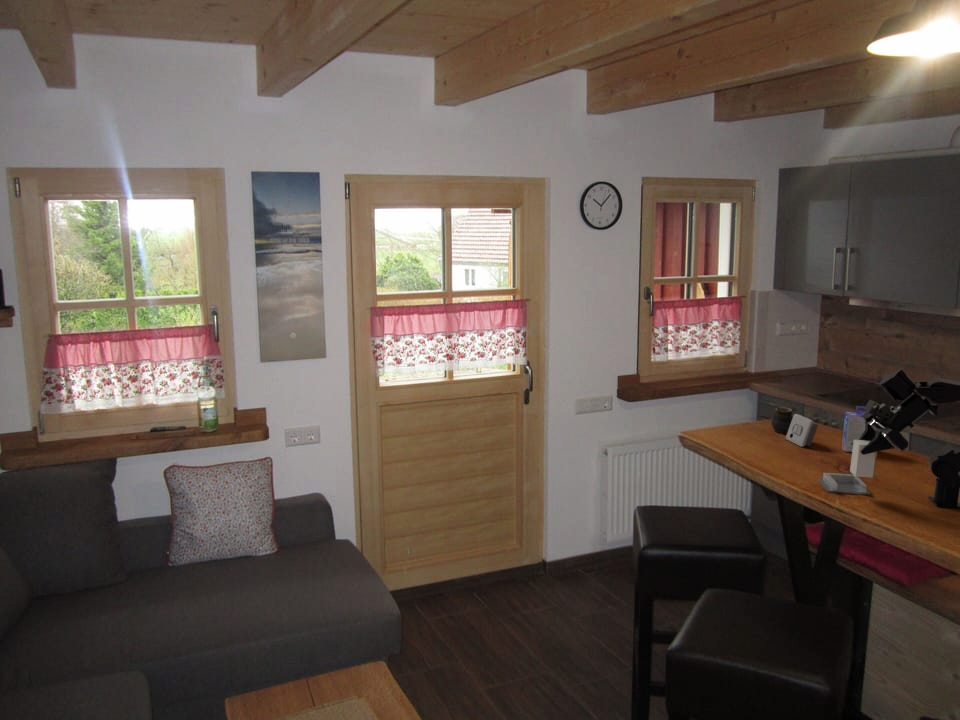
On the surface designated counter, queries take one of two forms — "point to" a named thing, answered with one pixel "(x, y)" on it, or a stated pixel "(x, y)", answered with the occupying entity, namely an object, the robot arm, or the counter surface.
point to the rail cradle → (843, 484)
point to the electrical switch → (801, 431)
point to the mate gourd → (782, 419)
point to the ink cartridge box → (853, 428)
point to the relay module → (862, 460)
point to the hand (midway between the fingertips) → (858, 450)
